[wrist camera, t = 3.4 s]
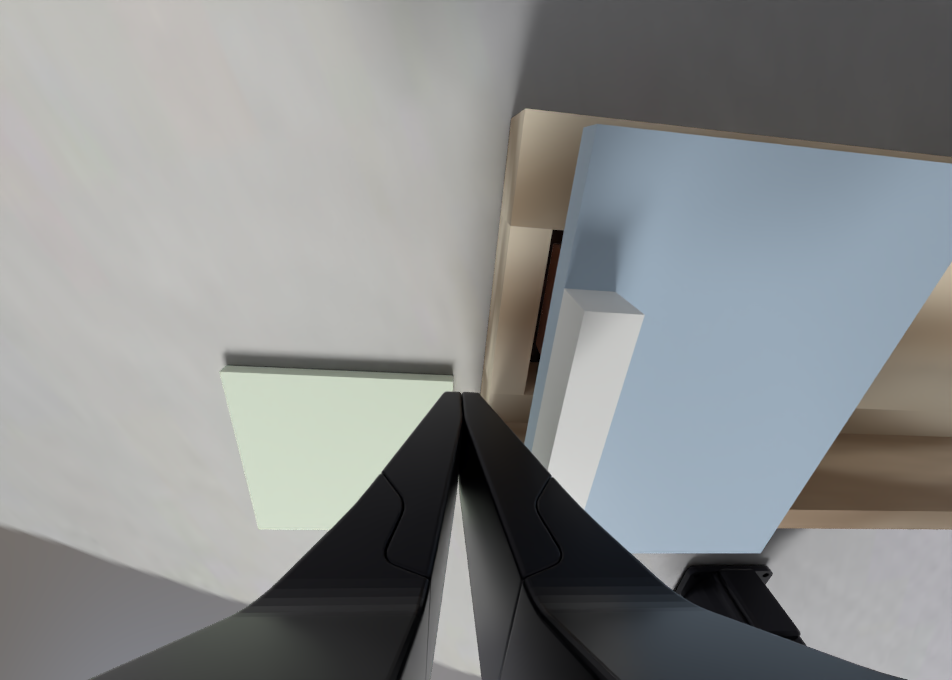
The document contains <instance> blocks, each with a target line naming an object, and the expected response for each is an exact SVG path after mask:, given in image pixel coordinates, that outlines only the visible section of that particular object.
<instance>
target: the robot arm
mask: <svg viewBox="0 0 952 680" xmlns="http://www.w3.org/2000/svg"><path fill="white" fill-rule="evenodd" d="M458 479H459V494H460V502H461V510H462V519H463V527H464V535H465V544H466V552H467V560H468V569H469V577H470V586H471V594H472V602H473V611H474V619H475V627H476V636H477V644H478V652H479V661H480V669H481V677H482V680H907V679H903V678H899V677H895V676H892V675H888V674H884V673H881V672H878V671H875V670H872V669H869V668H866V667H863V666H860V665H857V664H854V663H851V662H849V661H846V660H843V659H840V658H838V657H835V656H832V655H829V654H827V653H824V652H821V651H818V650H816V649H813V648H810V647H807V646H806V644H805V643H804V642H803V640H802V639H801V638H800V631H799V630H798V628H797V627H796V626H795V624H794V623H793V622H792V620H791V619H790V618H789V616H788V615H787V614H786V612H785V611H784V609H783V608H782V607H781V605H780V604H779V603H778V601H777V600H776V599H775V597H774V596H773V595H772V593H771V592H770V591H769V589H768V588H767V587H766V585H765V584H766V583H767V582H768V580H769V579H770V577H771V576H772V574H773V573H772V571H771V570H770V569H769V567H767V566H692V567H690V568H688V570H687V571H686V573H685V575H684V577H683V578H682V580H681V582H680V584H679V586H678V588H677V590H676V591H675V592H674V591H673V590H672V589H670V588H669V587H668V586H666V585H665V584H664V583H663V582H662V581H661V580H659V579H658V578H657V577H656V576H655V575H654V574H653V573H652V572H651V571H649V570H648V569H647V568H646V567H645V566H644V565H643V564H642V563H641V562H640V561H639V560H637V559H636V558H635V557H634V556H633V555H632V554H631V553H630V552H629V551H628V550H627V549H625V548H624V547H623V546H622V545H621V544H620V543H619V542H618V541H617V540H616V539H615V538H613V537H612V536H611V535H610V534H609V533H608V532H607V531H606V530H605V529H604V528H603V527H602V526H600V525H599V524H598V523H597V522H596V521H595V520H594V519H593V518H592V517H591V516H590V515H589V514H588V513H587V512H586V511H585V510H584V509H583V508H582V507H581V506H580V505H579V504H578V503H577V502H576V501H575V500H574V499H573V498H572V497H571V496H570V495H569V494H568V492H567V491H566V490H565V489H564V488H563V487H562V486H561V485H560V484H559V483H558V481H557V480H556V479H555V478H554V477H552V475H551V474H550V473H549V472H548V470H547V469H546V468H545V467H544V466H543V465H542V464H541V463H540V461H539V460H538V459H537V458H536V457H535V456H534V455H533V454H532V452H531V451H530V450H529V449H528V448H527V447H526V446H525V445H524V443H523V442H522V441H521V440H520V439H519V438H518V437H517V436H516V434H515V433H514V432H513V431H512V430H511V429H510V428H509V427H508V425H507V424H506V423H505V422H504V421H503V420H502V419H501V418H500V416H499V415H498V414H497V413H496V412H495V411H494V410H493V409H492V407H491V406H490V405H489V404H488V403H487V402H486V401H485V400H484V398H483V397H482V396H481V395H480V394H479V393H476V392H463V393H462V395H461V393H460V392H451V391H445V392H444V393H443V394H442V395H441V397H440V398H439V399H438V400H437V402H436V403H435V404H434V405H433V407H432V408H431V409H430V411H429V412H428V413H427V414H426V416H425V417H424V418H423V419H422V421H421V422H420V423H419V425H418V426H417V427H416V428H415V430H414V431H413V432H412V433H411V435H410V436H409V437H408V439H407V440H406V441H405V442H404V444H403V445H402V446H401V447H400V449H399V450H398V451H397V452H396V454H395V455H394V456H393V458H392V459H391V460H390V461H389V463H388V464H387V465H386V466H385V468H384V469H383V470H382V472H381V474H379V475H378V476H377V478H376V479H375V480H374V481H373V483H372V484H371V485H370V487H369V488H368V489H367V490H366V491H365V493H364V494H363V495H362V496H361V497H360V498H359V500H358V501H357V502H356V503H355V504H354V505H353V506H352V508H351V509H350V510H349V511H348V512H347V513H346V514H345V515H344V516H343V517H342V518H341V519H340V520H339V521H338V522H337V523H336V524H335V525H334V526H333V527H332V528H331V529H330V530H329V531H328V532H327V533H326V534H325V535H324V536H323V537H322V538H321V539H320V540H319V541H318V542H317V543H316V544H315V545H314V546H313V547H312V548H311V549H310V550H309V551H308V552H307V553H306V554H305V555H304V556H303V557H302V558H301V559H300V560H299V561H298V562H297V563H296V564H295V565H294V566H293V567H292V568H291V569H290V570H289V571H288V572H287V573H286V574H285V575H284V576H283V577H282V578H281V579H280V580H279V581H278V582H277V583H276V584H275V585H274V586H272V587H271V588H270V589H269V590H268V591H267V592H266V593H264V594H263V595H262V596H261V597H259V598H258V599H257V600H256V601H254V602H253V603H251V604H250V605H249V606H247V607H246V608H244V609H242V610H241V611H239V612H237V613H236V614H234V615H232V616H230V617H228V618H225V619H223V620H221V621H219V622H216V623H214V624H212V625H210V626H207V627H205V628H203V629H201V630H199V631H196V632H194V633H192V634H190V635H188V636H185V637H183V638H181V639H179V640H176V641H174V642H172V643H169V644H167V645H165V646H163V647H160V648H158V649H156V650H154V651H151V652H149V653H147V654H145V655H142V656H140V657H138V658H136V659H134V660H131V661H129V662H127V663H125V664H122V665H120V666H118V667H116V668H113V669H111V670H109V671H107V672H104V673H102V674H100V675H98V676H96V677H93V678H91V679H89V680H430V679H431V672H432V665H433V658H434V651H435V644H436V637H437V630H438V623H439V615H440V608H441V601H442V594H443V587H444V580H445V573H446V566H447V559H448V552H449V544H450V537H451V530H452V523H453V516H454V509H455V502H456V495H457V486H458Z"/></svg>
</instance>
